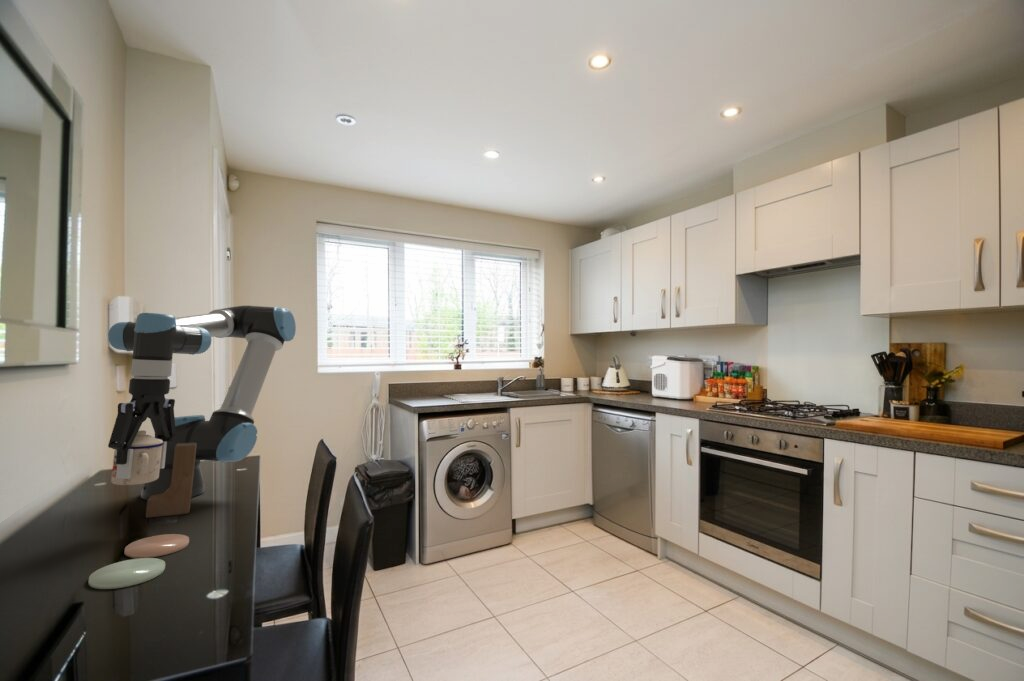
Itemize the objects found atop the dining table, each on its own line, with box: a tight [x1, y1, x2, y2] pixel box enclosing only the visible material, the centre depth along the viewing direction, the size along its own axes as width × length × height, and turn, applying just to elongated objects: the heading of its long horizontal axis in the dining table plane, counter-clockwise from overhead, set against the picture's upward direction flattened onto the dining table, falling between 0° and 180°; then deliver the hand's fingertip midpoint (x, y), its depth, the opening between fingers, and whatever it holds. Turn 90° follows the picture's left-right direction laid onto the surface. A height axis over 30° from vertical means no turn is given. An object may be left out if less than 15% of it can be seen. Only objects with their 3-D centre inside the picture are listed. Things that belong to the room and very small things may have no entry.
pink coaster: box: [124, 533, 190, 559], centre depth 96 cm, size 11×11×1 cm
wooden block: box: [145, 443, 197, 519], centre depth 117 cm, size 9×4×18 cm, turn 122°
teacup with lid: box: [110, 429, 164, 486], centre depth 104 cm, size 12×9×12 cm
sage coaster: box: [88, 557, 166, 590], centre depth 84 cm, size 11×11×1 cm
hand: (141, 472), depth 105 cm, fingers closed on teacup with lid, 9 cm apart
